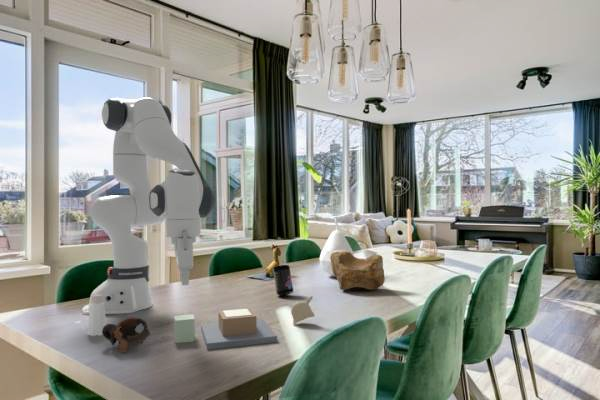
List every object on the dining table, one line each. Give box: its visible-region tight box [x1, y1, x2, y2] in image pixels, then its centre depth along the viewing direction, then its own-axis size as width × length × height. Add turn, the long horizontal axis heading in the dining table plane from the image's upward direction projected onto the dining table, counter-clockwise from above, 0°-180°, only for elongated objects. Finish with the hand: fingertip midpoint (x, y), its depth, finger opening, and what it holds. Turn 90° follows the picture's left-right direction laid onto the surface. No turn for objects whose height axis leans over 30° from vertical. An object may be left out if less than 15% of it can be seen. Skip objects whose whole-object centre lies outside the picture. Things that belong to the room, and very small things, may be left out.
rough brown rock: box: [330, 251, 385, 291], centre depth 177 cm, size 23×17×15 cm
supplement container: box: [273, 264, 294, 297], centre depth 167 cm, size 7×7×10 cm
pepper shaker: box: [86, 294, 107, 337], centre depth 121 cm, size 5×5×11 cm
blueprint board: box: [200, 307, 278, 350], centre depth 119 cm, size 18×18×6 cm
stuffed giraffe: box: [245, 244, 282, 282], centre depth 208 cm, size 16×18×16 cm
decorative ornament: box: [290, 295, 316, 326], centre depth 129 cm, size 4×8×5 cm, turn 87°
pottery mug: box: [102, 316, 151, 354], centre depth 109 cm, size 12×9×8 cm
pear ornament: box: [318, 218, 355, 278], centre depth 209 cm, size 16×22×28 cm
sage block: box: [173, 314, 196, 344], centre depth 115 cm, size 5×5×6 cm
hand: (184, 281), depth 115 cm, fingers open, 8 cm apart
